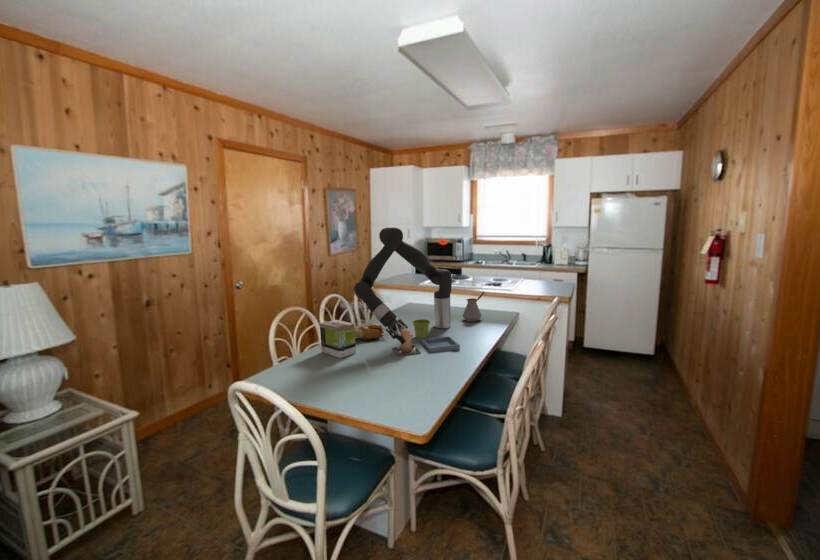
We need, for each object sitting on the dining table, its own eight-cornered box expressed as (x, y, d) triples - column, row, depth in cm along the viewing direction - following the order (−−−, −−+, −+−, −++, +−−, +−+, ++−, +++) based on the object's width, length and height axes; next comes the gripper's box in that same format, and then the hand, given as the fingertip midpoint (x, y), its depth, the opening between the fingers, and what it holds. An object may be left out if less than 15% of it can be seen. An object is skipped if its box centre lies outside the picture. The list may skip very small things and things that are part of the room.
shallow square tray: (421, 343, 198) (421, 339, 198) (449, 340, 201) (449, 336, 201) (430, 353, 184) (430, 348, 184) (459, 349, 187) (459, 344, 187)
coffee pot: (475, 323, 232) (475, 298, 229) (459, 321, 239) (458, 296, 237) (492, 315, 248) (492, 292, 246) (476, 313, 255) (476, 290, 253)
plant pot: (430, 334, 213) (430, 319, 212) (430, 340, 204) (429, 323, 203) (413, 334, 214) (413, 319, 213) (412, 340, 205) (411, 323, 203)
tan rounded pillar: (400, 350, 189) (399, 327, 187) (410, 348, 190) (409, 326, 188) (402, 353, 184) (401, 330, 182) (412, 352, 185) (411, 329, 183)
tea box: (357, 353, 188) (355, 323, 186) (339, 359, 181) (337, 328, 178) (337, 347, 198) (335, 318, 196) (320, 352, 191) (318, 322, 189)
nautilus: (397, 338, 210) (380, 348, 198) (364, 331, 221) (347, 340, 208) (396, 324, 208) (380, 333, 196) (364, 318, 219) (346, 326, 207)
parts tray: (392, 349, 191) (392, 345, 191) (414, 347, 193) (414, 343, 193) (397, 357, 180) (397, 352, 180) (420, 354, 183) (420, 350, 182)
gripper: (382, 313, 180) (407, 339, 178) (395, 306, 193) (418, 331, 191) (373, 323, 183) (396, 349, 180) (386, 316, 196) (408, 340, 193)
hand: (407, 340), depth 186 cm, fingers open, 8 cm apart
